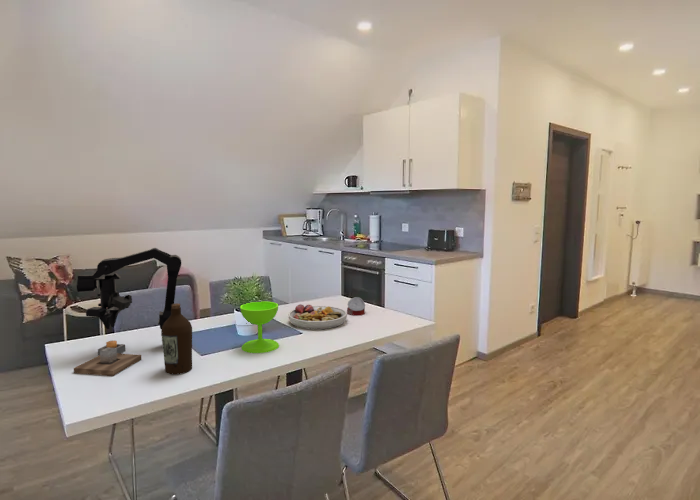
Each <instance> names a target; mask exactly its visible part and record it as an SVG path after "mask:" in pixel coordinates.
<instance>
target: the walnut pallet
mask: <svg viewBox="0 0 700 500" xmlns="http://www.w3.org/2000/svg"><path fill="white" fill-rule="evenodd" d="M140 361H142V354H135V353H134V354H133V353H121V354H120V353H117V361H116V362H114V363H113V364H111V365H108V364H101V362H100V355H99V356H98V355H97V356H96V357H94V358H92V359H91V358H90V359H89V360H87V361H85V362H83V363H81V364H79V365H76V366H75V367H73V374H80V375H94V376H104V377H105V376H107V377H115V376H117V375H118V374H119V373H121V372H123V371H125V370H127V369H128V368H130V367H132V366H133V365H136V364H137V363H139V362H140Z"/></svg>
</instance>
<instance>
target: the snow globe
mask: <svg viewBox="0 0 700 500" xmlns="http://www.w3.org/2000/svg"><path fill="white" fill-rule="evenodd" d="M365 309H366V303H365V301H364V300H363V299H362V298H361V297H358V296H355V297H352V298H350V300H349V301H348V302H347V308H346V312H347V316H348V315H349V316H353V317H355V316H357V317H358V316H364V315H365V313H366V311H365Z"/></svg>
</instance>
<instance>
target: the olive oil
mask: <svg viewBox="0 0 700 500" xmlns="http://www.w3.org/2000/svg"><path fill="white" fill-rule="evenodd" d="M160 331H161V333H160V335H161V341H162V351H163V363H164V371H165V373H166V374H167V375H173V376H174V375H175V376H176V375H183V374H186V373H188V372H191V371H192V369H193V326H192V323H191V322H190V320H189V319H188V318H187V317H185V316H184V315H183V314H182V309H181V303H174V304H172V305H171V316H170V317H169V318H168V319H167V320H166V321H165V323H164V324H163V326H162V330H161V329H160Z"/></svg>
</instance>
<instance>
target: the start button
mask: <svg viewBox="0 0 700 500" xmlns="http://www.w3.org/2000/svg"><path fill="white" fill-rule="evenodd" d="M105 344H106V345H105V346H106V348H107V347H109V348H116V347H117V344H118V342H117V340H108V341H106V342H105Z"/></svg>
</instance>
